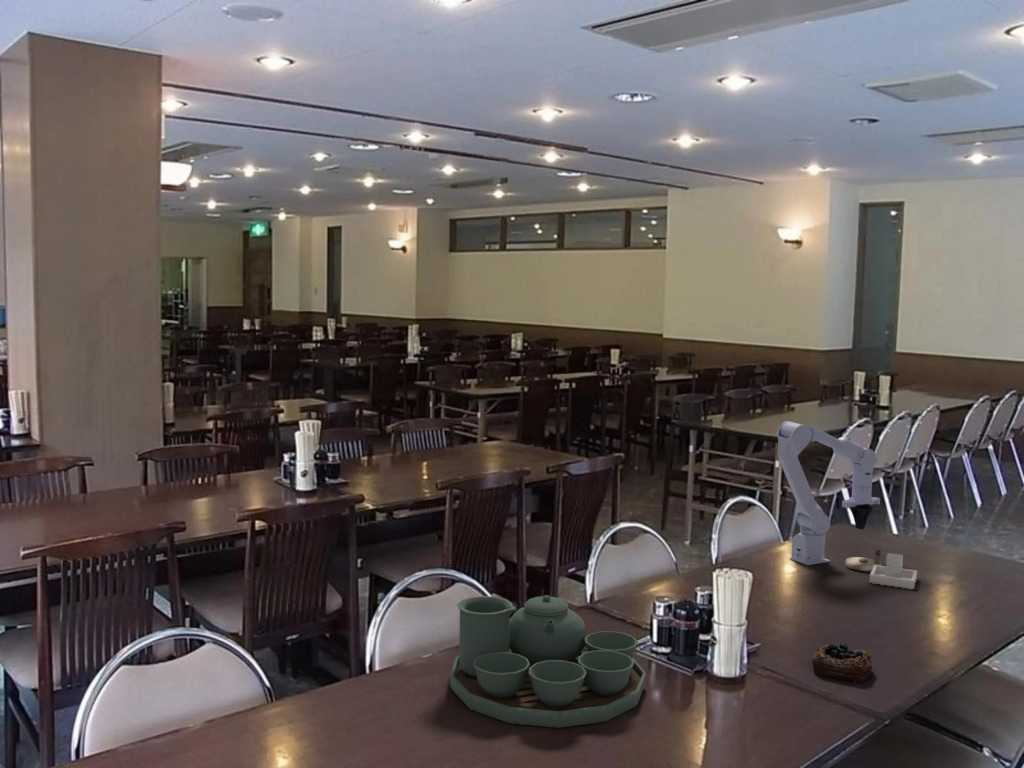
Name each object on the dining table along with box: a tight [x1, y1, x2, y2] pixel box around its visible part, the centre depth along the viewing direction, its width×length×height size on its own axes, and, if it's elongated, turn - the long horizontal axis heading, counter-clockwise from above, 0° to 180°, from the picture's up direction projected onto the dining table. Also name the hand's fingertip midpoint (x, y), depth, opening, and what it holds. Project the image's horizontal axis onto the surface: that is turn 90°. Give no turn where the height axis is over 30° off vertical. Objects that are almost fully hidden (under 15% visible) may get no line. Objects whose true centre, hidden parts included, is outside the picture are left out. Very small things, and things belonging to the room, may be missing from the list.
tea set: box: [449, 595, 647, 729], centre depth 188 cm, size 40×40×16 cm
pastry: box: [812, 642, 873, 684], centre depth 198 cm, size 11×12×6 cm
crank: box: [844, 549, 882, 572], centre depth 278 cm, size 10×10×5 cm
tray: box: [869, 565, 918, 590], centre depth 264 cm, size 12×12×2 cm
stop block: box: [885, 552, 904, 578], centre depth 264 cm, size 4×4×7 cm
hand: (860, 528), depth 288 cm, fingers closed
